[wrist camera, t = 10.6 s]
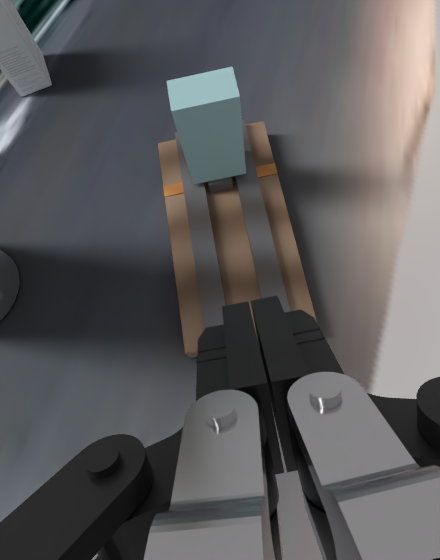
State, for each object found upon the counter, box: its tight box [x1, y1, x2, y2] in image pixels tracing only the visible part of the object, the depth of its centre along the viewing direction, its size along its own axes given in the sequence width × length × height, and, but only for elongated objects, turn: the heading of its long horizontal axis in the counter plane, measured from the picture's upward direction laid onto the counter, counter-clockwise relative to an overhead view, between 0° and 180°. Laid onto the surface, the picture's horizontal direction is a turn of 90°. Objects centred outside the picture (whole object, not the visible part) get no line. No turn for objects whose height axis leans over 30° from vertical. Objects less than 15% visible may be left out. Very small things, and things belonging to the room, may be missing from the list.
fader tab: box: [167, 67, 246, 193], centre depth 34 cm, size 4×5×10 cm
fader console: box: [158, 118, 317, 358], centre depth 37 cm, size 22×11×3 cm, turn 9°
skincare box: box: [0, 0, 52, 97], centre depth 45 cm, size 6×4×12 cm
